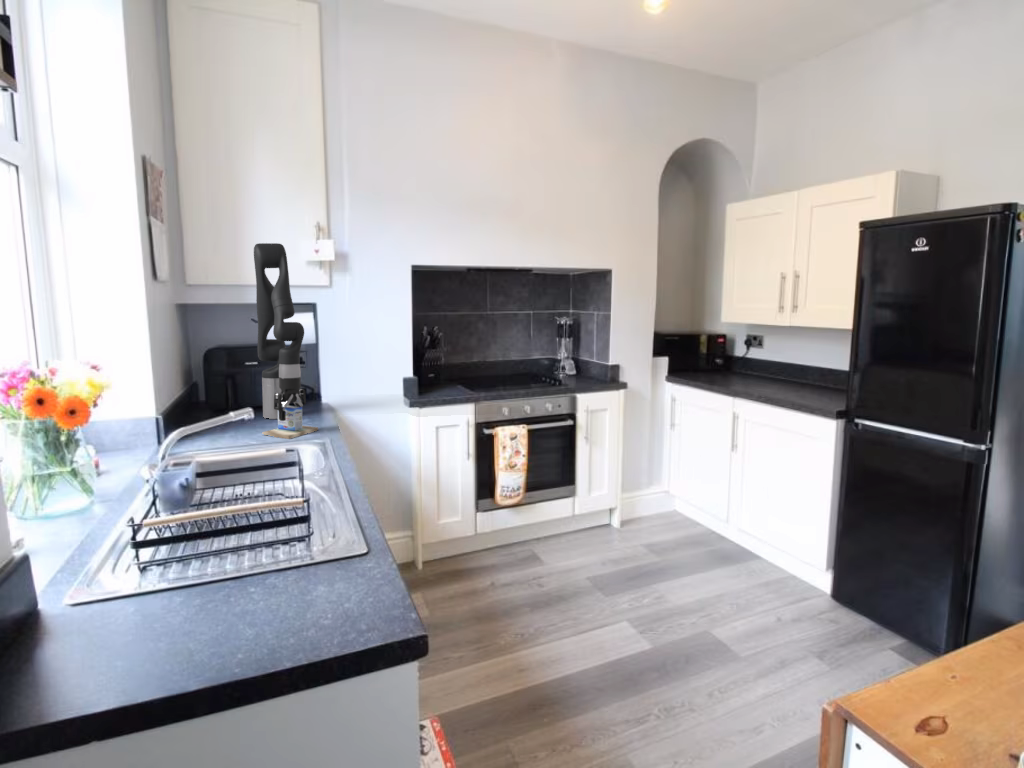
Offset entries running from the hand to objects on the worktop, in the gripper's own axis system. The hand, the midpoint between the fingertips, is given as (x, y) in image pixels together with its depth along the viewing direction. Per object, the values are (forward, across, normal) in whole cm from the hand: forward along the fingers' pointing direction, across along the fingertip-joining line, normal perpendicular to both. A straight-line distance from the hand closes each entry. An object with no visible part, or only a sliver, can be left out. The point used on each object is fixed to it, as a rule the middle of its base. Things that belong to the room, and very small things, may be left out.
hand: (290, 418), depth 209 cm
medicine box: (+4, 0, 0) cm, 4 cm away
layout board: (+6, 0, 0) cm, 6 cm away
